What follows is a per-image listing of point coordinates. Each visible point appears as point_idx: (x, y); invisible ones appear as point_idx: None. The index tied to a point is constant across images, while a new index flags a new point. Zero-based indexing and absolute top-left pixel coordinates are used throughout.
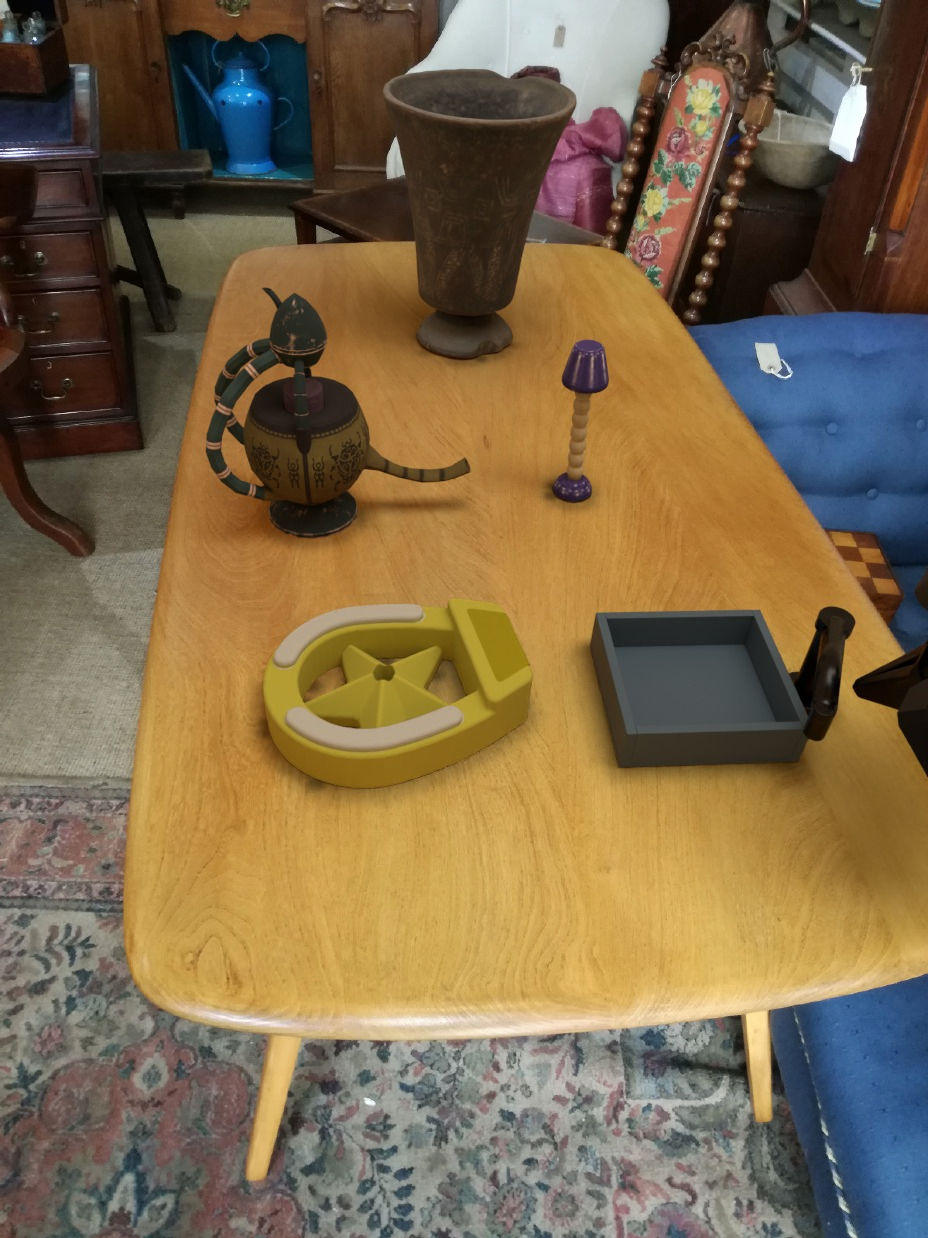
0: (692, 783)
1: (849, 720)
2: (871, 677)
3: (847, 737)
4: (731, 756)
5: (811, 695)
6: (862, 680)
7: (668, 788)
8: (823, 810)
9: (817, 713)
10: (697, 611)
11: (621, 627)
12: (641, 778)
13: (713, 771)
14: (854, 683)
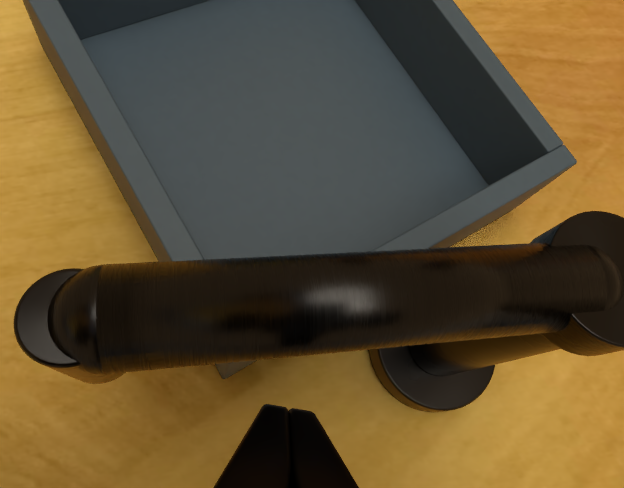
0: (57, 178)
1: (419, 469)
2: (274, 472)
3: (362, 476)
4: (141, 225)
5: (417, 355)
6: (279, 435)
7: (23, 138)
8: (91, 472)
9: (25, 292)
10: (480, 39)
11: None
12: (31, 87)
13: (111, 211)
14: (276, 408)
